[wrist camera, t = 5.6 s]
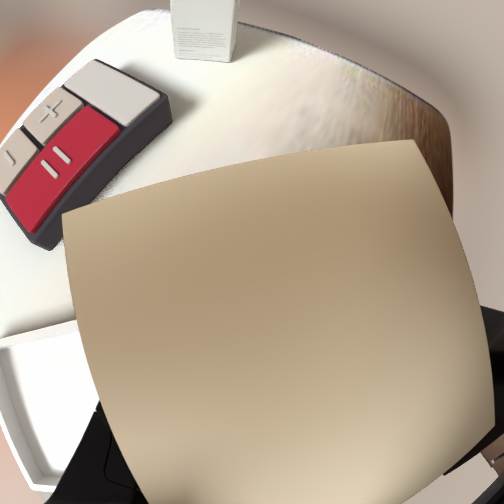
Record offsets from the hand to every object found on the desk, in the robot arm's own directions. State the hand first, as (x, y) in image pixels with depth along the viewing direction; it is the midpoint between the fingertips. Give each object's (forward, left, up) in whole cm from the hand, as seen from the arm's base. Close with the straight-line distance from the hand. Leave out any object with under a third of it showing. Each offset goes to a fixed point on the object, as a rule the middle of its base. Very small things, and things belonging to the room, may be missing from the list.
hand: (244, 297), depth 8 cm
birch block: (-1, 0, -7) cm, 7 cm away
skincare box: (+27, 0, -12) cm, 29 cm away
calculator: (+15, +12, -12) cm, 23 cm away
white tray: (-6, +13, -11) cm, 18 cm away
